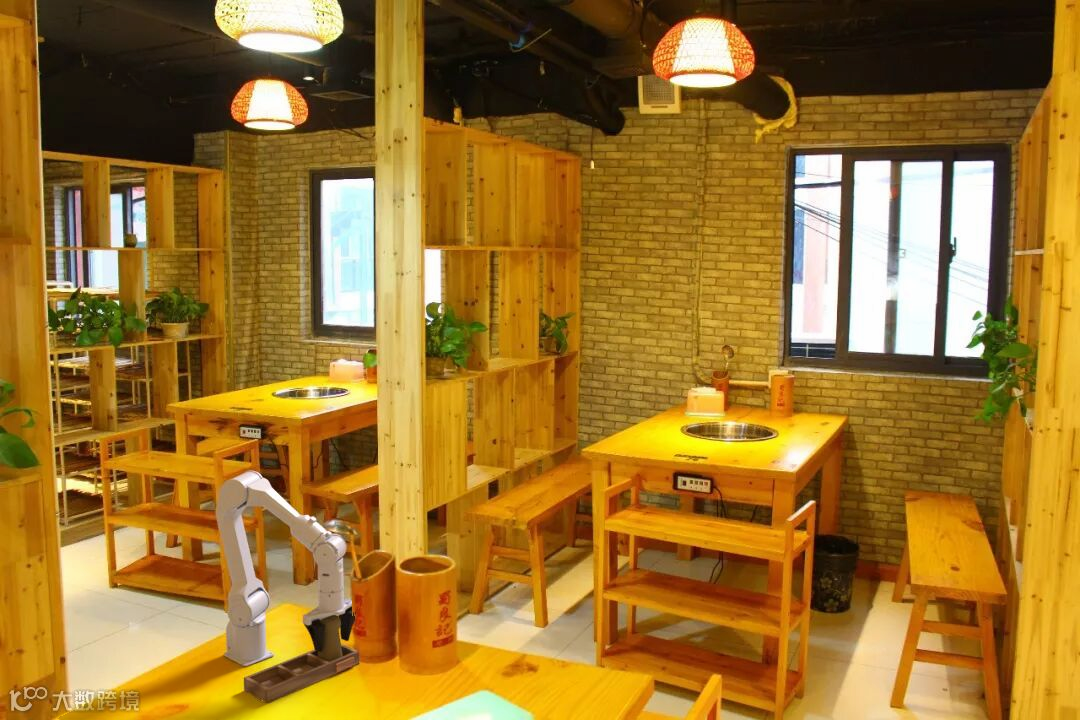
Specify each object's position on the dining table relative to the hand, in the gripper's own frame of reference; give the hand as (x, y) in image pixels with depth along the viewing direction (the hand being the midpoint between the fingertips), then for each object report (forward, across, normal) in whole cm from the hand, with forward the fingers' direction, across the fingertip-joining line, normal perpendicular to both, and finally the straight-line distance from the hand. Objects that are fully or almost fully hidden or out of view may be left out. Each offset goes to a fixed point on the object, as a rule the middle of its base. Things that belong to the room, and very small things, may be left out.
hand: (331, 645), depth 210 cm
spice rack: (+5, -8, 0) cm, 9 cm away
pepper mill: (+4, 0, 0) cm, 4 cm away
